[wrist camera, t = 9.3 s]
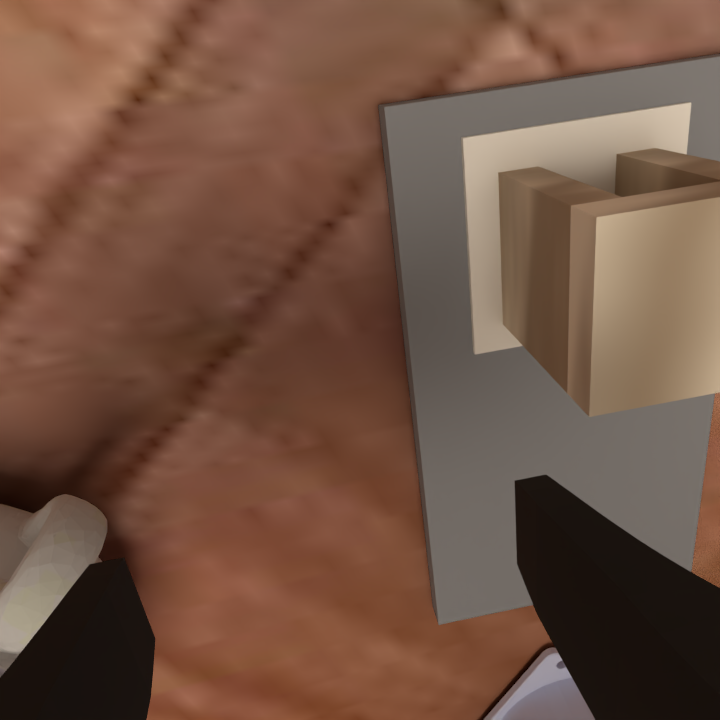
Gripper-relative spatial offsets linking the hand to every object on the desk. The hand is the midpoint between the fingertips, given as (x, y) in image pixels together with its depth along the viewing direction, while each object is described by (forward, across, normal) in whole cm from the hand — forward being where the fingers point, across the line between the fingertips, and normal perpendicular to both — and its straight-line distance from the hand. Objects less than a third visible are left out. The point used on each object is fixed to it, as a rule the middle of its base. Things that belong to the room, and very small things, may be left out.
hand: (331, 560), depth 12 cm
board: (+10, -9, +3) cm, 14 cm away
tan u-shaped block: (+9, -9, -2) cm, 13 cm away
